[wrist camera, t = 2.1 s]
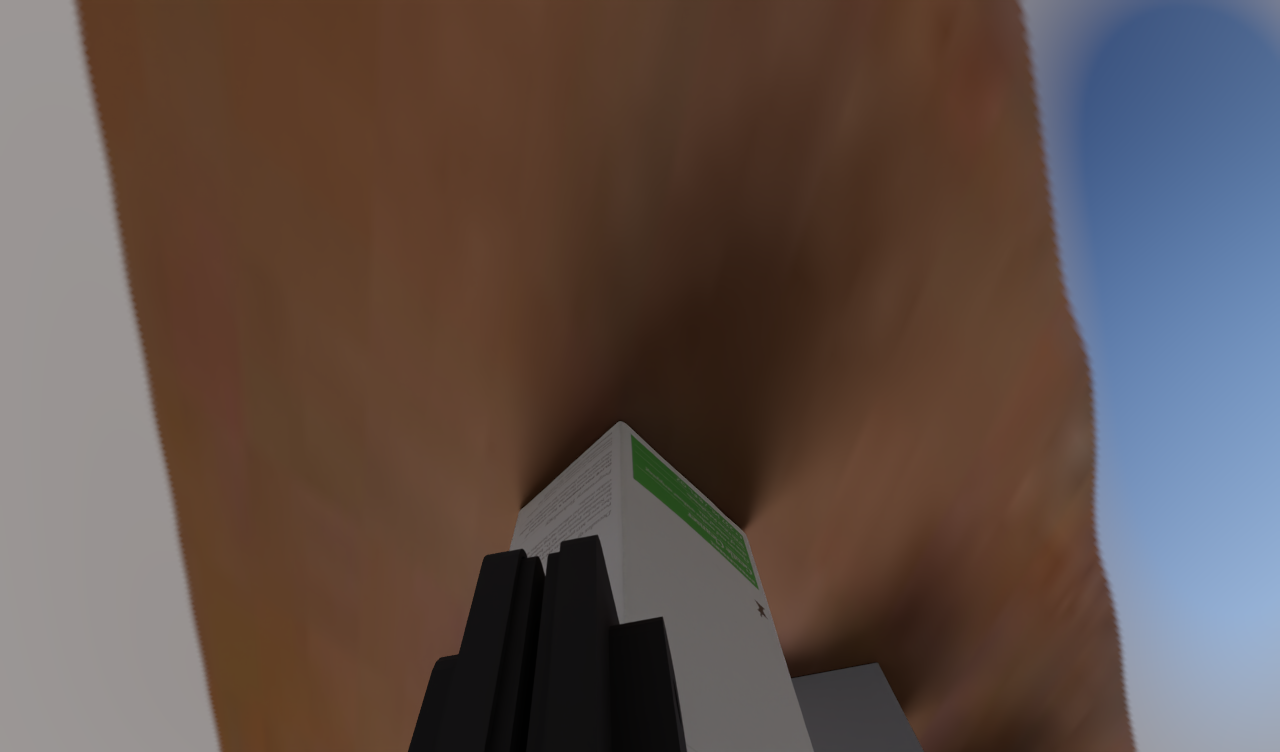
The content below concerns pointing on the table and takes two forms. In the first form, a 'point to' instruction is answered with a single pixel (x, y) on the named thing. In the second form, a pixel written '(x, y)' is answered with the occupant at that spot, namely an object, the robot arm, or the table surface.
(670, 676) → the robot arm
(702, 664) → the skincare box
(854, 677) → the u rest
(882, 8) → the table surface
